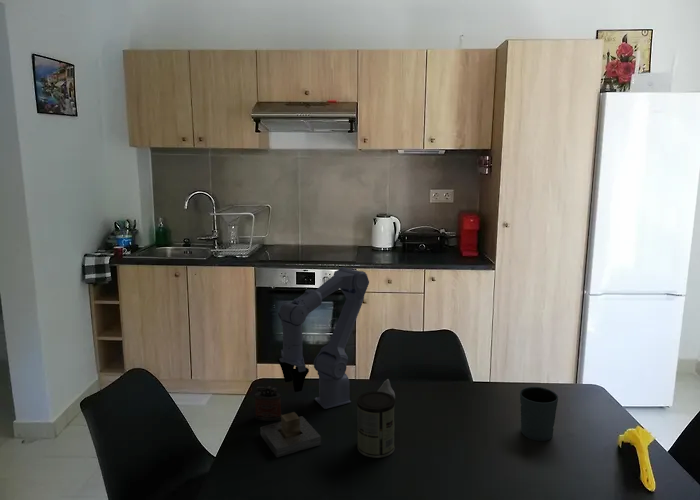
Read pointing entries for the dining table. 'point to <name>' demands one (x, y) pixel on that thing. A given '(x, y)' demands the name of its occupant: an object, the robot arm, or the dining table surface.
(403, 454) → the dining table surface
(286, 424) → the peg
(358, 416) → the coffee can
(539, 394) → the dark grey cup
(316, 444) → the square hole board
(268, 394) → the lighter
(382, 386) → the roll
